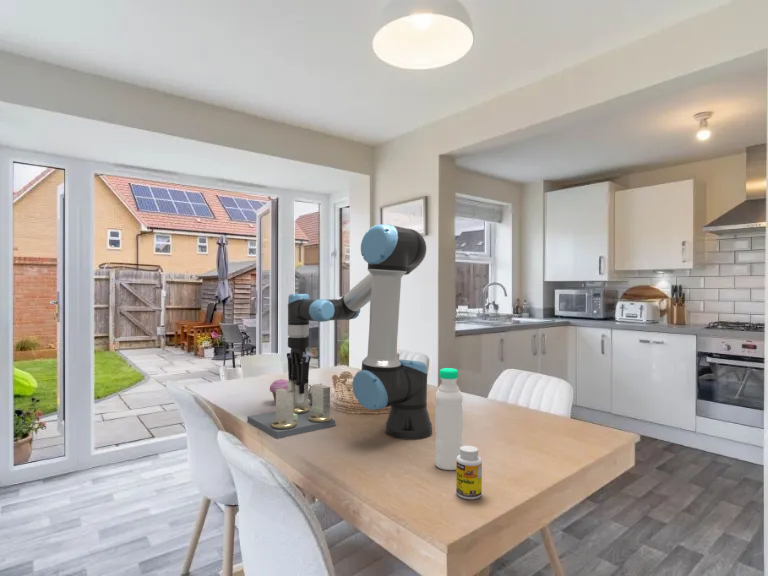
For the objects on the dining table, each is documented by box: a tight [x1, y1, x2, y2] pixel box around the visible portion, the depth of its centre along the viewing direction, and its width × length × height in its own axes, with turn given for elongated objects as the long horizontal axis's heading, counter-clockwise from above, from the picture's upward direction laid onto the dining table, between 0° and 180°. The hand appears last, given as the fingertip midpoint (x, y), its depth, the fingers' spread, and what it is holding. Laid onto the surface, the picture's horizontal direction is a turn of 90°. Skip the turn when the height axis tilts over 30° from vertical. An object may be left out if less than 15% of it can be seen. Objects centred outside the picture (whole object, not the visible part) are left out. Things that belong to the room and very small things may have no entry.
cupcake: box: [269, 379, 289, 405], centre depth 178 cm, size 9×9×10 cm
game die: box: [308, 383, 323, 407], centre depth 178 cm, size 9×8×10 cm
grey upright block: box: [309, 383, 334, 422], centre depth 149 cm, size 8×8×11 cm
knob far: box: [288, 379, 310, 414], centre depth 159 cm, size 8×8×11 cm
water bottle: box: [434, 367, 464, 471], centre depth 114 cm, size 7×7×25 cm
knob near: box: [271, 388, 297, 429], centre depth 142 cm, size 8×8×11 cm
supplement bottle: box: [455, 445, 483, 500], centre depth 98 cm, size 6×6×10 cm
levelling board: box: [246, 409, 336, 440], centre depth 151 cm, size 23×21×4 cm
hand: (297, 401), depth 159 cm, fingers closed on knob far, 3 cm apart
